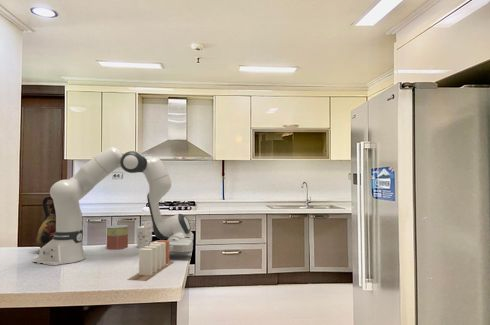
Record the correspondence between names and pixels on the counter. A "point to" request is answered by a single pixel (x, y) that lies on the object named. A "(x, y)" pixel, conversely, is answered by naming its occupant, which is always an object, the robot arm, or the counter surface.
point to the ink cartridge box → (144, 235)
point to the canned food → (117, 237)
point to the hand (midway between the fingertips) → (164, 250)
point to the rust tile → (166, 250)
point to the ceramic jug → (47, 224)
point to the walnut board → (147, 277)
